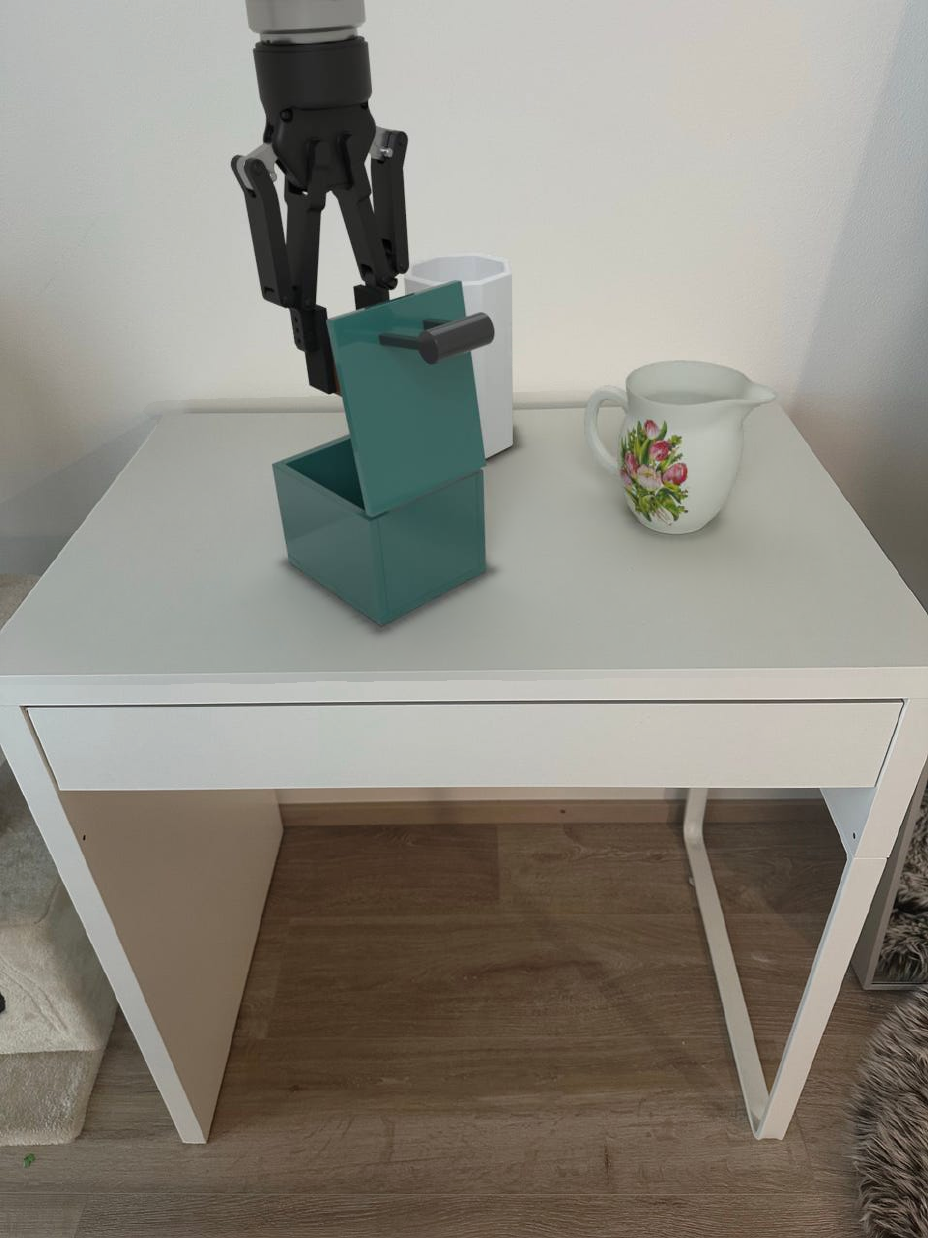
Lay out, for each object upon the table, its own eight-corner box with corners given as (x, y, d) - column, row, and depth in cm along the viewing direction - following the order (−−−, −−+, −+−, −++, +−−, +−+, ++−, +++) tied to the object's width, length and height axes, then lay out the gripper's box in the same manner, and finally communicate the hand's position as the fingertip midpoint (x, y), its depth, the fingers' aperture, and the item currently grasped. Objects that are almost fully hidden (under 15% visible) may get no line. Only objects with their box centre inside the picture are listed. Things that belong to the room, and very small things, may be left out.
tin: (288, 562, 84) (271, 463, 78) (390, 515, 90) (381, 420, 84) (381, 626, 76) (369, 521, 70) (486, 570, 82) (483, 469, 76)
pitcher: (612, 465, 97) (620, 334, 88) (778, 516, 87) (804, 375, 79) (551, 508, 90) (554, 371, 82) (723, 569, 80) (746, 420, 72)
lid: (325, 319, 63) (392, 327, 57) (454, 279, 69) (526, 284, 64) (365, 515, 70) (428, 539, 65) (480, 463, 76) (546, 481, 71)
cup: (489, 411, 109) (485, 245, 98) (532, 449, 100) (534, 272, 89) (399, 430, 105) (385, 261, 94) (436, 471, 97) (425, 291, 86)
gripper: (219, 51, 54) (282, 427, 68) (449, 24, 63) (463, 360, 77) (159, 46, 58) (229, 398, 72) (380, 21, 68) (405, 338, 81)
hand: (349, 378), depth 74 cm, fingers closed on block, 4 cm apart
